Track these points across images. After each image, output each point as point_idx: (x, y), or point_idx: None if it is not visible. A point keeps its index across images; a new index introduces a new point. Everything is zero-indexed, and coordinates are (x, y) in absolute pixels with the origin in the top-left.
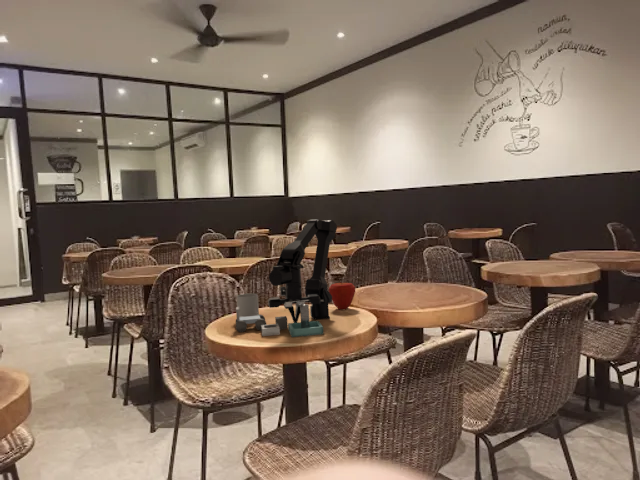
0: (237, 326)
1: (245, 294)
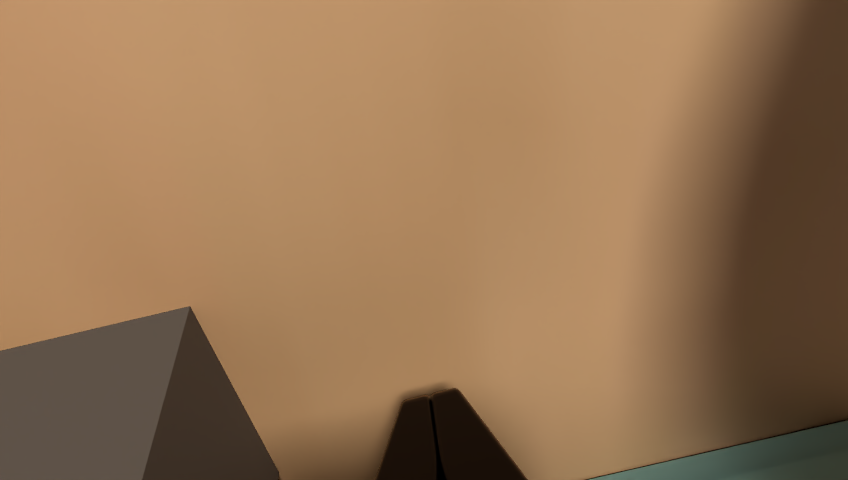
0: None
1: None
